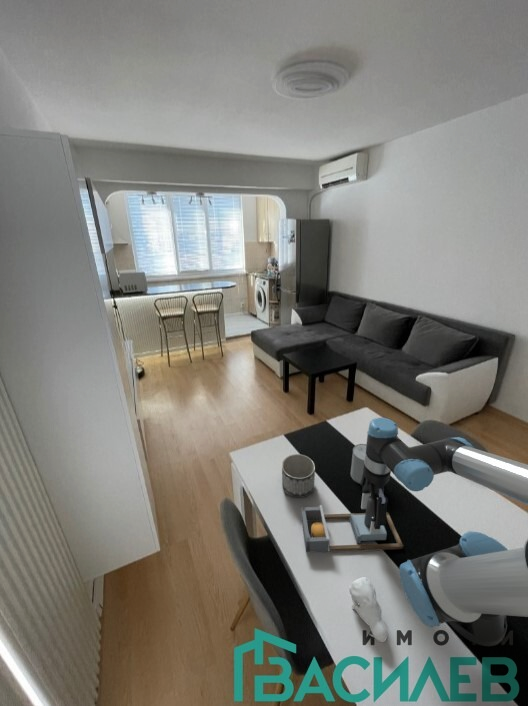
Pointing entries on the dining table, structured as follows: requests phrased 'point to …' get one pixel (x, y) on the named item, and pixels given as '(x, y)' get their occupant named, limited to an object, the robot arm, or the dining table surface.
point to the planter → (298, 475)
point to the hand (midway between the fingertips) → (369, 519)
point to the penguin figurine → (368, 607)
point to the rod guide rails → (366, 546)
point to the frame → (310, 543)
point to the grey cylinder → (358, 462)
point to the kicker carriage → (366, 525)
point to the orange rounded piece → (317, 530)
